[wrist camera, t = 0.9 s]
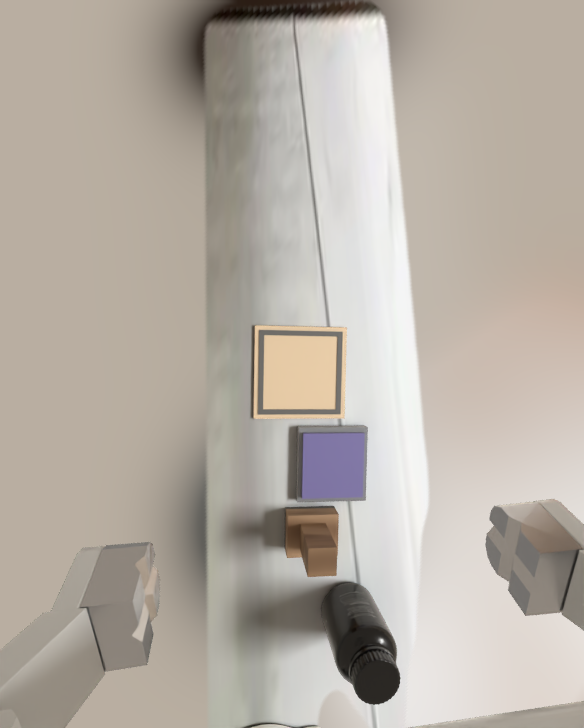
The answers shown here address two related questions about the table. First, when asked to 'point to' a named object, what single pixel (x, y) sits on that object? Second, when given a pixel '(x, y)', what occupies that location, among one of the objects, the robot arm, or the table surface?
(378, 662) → the supplement bottle
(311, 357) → the marked card
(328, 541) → the stamp
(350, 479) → the ink pad
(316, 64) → the table surface
